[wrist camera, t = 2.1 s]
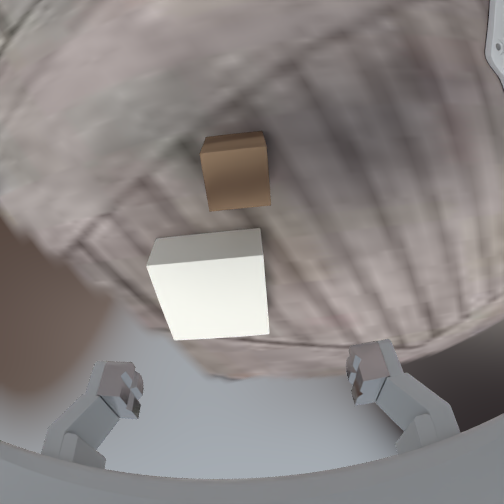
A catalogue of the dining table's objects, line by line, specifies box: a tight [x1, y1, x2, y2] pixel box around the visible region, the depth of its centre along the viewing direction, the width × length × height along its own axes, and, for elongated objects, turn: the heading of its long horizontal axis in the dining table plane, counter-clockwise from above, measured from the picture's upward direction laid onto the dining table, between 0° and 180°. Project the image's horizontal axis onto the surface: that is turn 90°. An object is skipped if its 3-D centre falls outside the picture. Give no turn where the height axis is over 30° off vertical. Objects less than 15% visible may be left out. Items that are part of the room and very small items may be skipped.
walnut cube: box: [200, 131, 271, 212], centre depth 26 cm, size 5×5×5 cm
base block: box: [146, 228, 269, 340], centre depth 34 cm, size 11×11×5 cm
